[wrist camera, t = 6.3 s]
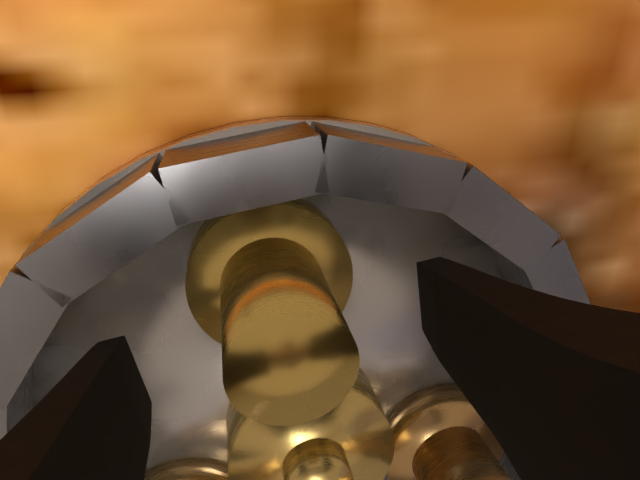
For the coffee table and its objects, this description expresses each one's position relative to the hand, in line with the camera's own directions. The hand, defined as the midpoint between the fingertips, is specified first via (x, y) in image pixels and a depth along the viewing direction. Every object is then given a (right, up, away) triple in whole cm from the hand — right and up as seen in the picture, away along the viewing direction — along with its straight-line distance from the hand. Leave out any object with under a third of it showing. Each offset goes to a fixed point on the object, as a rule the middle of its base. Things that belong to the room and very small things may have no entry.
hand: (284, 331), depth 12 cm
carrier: (0, -4, +6) cm, 7 cm away
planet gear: (-1, +1, +3) cm, 3 cm away
